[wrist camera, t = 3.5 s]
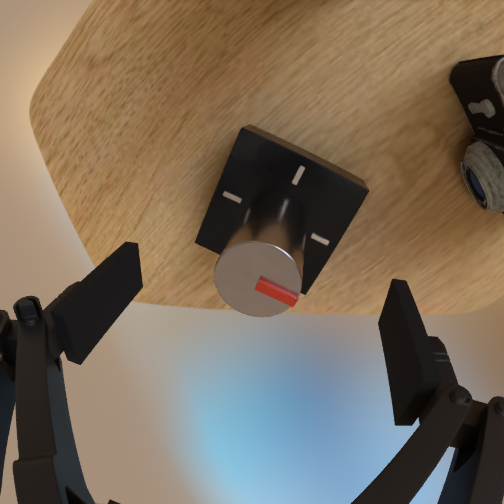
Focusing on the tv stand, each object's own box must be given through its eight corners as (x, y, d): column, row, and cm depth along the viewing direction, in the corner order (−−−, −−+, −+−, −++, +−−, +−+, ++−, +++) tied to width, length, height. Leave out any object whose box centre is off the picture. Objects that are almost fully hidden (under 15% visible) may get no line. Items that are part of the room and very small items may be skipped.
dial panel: (205, 228, 29) (193, 243, 26) (249, 124, 24) (240, 127, 21) (306, 276, 29) (305, 296, 26) (363, 180, 24) (369, 191, 22)
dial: (238, 229, 25) (200, 298, 17) (261, 178, 23) (230, 228, 15) (290, 254, 25) (276, 333, 17) (317, 205, 23) (318, 269, 15)
